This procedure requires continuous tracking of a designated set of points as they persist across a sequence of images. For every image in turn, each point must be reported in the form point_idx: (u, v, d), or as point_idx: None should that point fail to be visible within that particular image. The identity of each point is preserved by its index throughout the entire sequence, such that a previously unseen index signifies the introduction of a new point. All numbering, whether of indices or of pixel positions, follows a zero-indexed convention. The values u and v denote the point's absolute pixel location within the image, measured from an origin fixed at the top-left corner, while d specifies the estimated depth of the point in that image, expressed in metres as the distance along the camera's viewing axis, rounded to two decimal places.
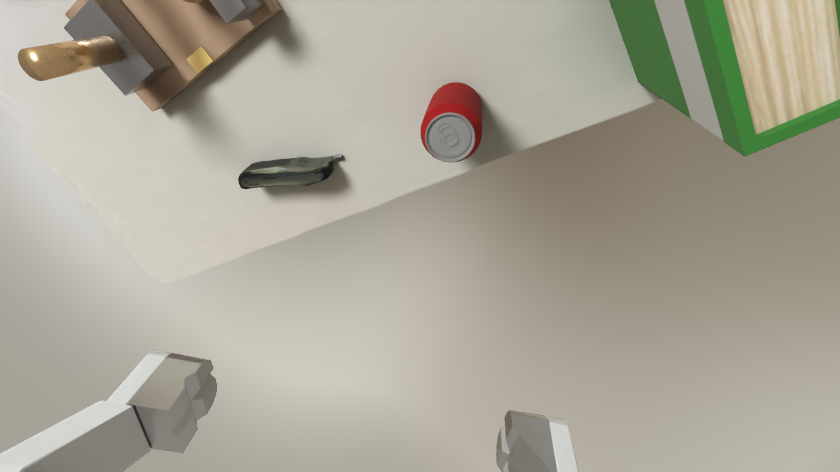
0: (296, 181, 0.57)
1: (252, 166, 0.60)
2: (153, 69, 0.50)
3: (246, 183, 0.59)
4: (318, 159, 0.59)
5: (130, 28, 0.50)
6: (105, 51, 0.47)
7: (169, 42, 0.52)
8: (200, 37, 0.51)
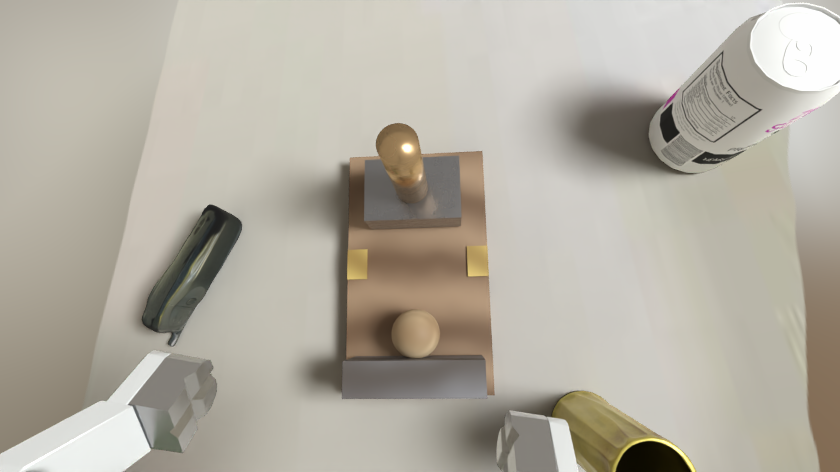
0: (161, 286, 0.40)
1: (231, 232, 0.44)
2: (365, 220, 0.38)
3: (206, 218, 0.41)
4: (182, 319, 0.43)
5: (420, 223, 0.40)
6: (401, 194, 0.36)
7: (392, 244, 0.42)
8: (375, 285, 0.41)
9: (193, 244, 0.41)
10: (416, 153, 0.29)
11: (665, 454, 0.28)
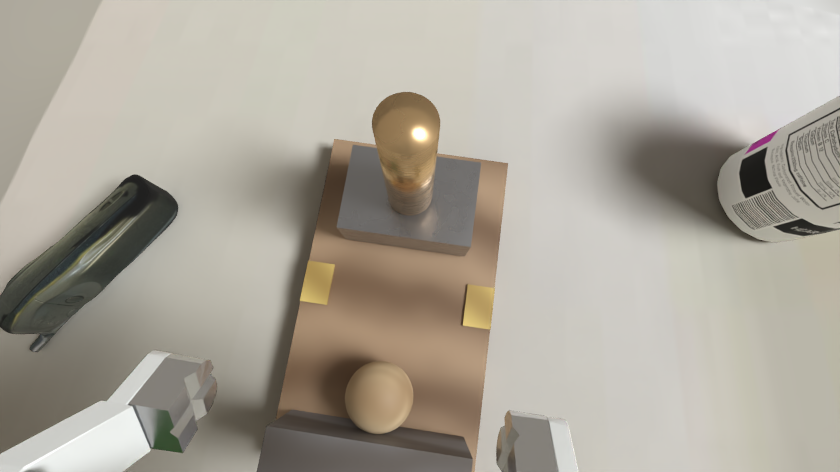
0: (30, 272, 0.28)
1: (157, 217, 0.32)
2: (338, 227, 0.28)
3: (123, 191, 0.29)
4: (56, 320, 0.30)
5: (412, 243, 0.29)
6: (394, 200, 0.25)
7: (369, 263, 0.31)
8: (336, 315, 0.30)
9: (94, 224, 0.29)
10: (433, 144, 0.18)
11: None
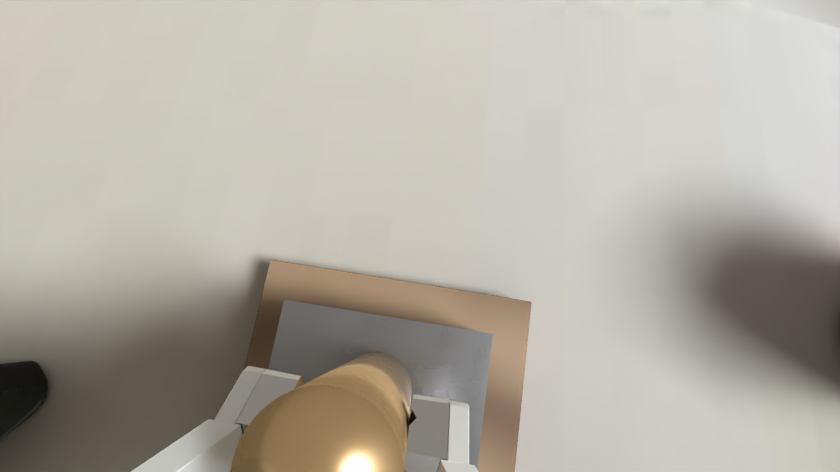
0: None
1: None
2: None
3: None
4: None
5: None
6: None
7: None
8: None
9: None
10: None
11: None
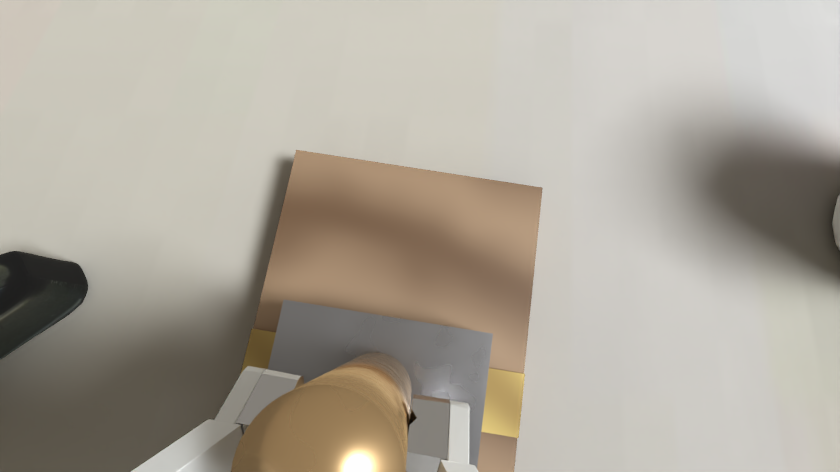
0: None
1: (43, 312, 0.21)
2: None
3: None
4: None
5: None
6: None
7: None
8: None
9: None
10: None
11: None
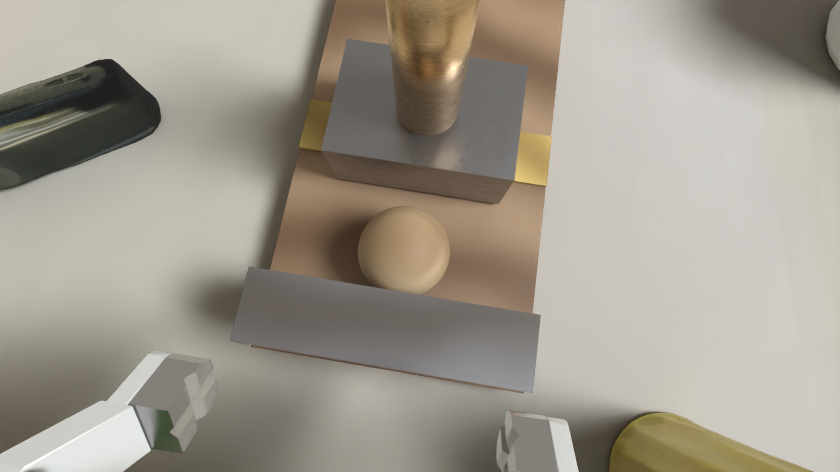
0: None
1: (122, 125, 0.24)
2: (324, 150, 0.19)
3: (85, 75, 0.22)
4: None
5: (428, 180, 0.21)
6: (406, 102, 0.17)
7: None
8: None
9: (30, 99, 0.21)
10: None
11: None
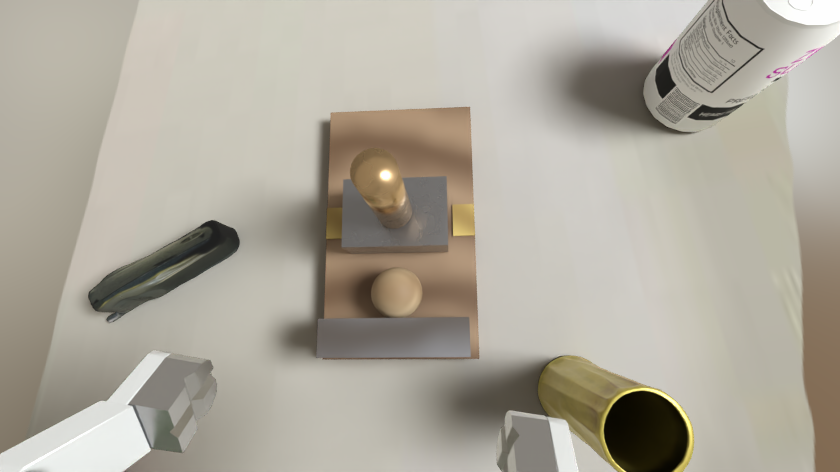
0: (121, 275, 0.37)
1: (220, 253, 0.40)
2: (342, 246, 0.35)
3: (201, 233, 0.38)
4: (130, 307, 0.40)
5: (403, 249, 0.36)
6: (381, 220, 0.33)
7: None
8: None
9: (174, 252, 0.37)
10: (395, 182, 0.25)
11: (657, 409, 0.26)
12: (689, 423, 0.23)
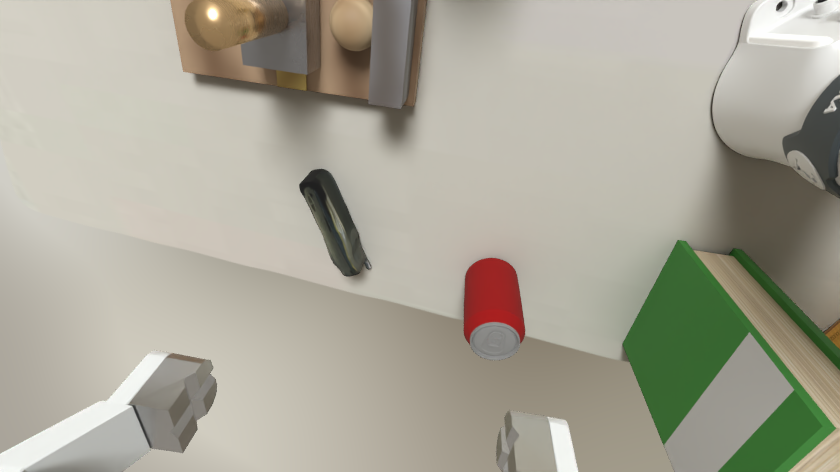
0: (334, 253, 0.49)
1: (329, 184, 0.48)
2: (307, 73, 0.37)
3: (309, 195, 0.46)
4: (361, 253, 0.53)
5: (312, 10, 0.36)
6: (275, 28, 0.33)
7: None
8: None
9: (322, 217, 0.47)
10: (217, 4, 0.26)
11: None
12: None
